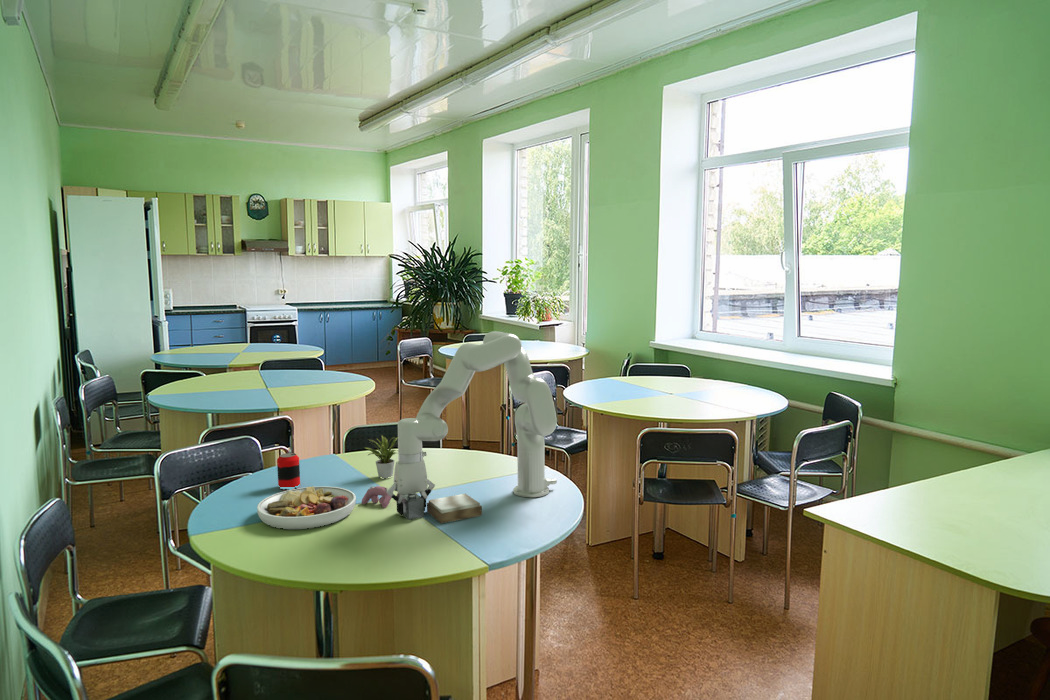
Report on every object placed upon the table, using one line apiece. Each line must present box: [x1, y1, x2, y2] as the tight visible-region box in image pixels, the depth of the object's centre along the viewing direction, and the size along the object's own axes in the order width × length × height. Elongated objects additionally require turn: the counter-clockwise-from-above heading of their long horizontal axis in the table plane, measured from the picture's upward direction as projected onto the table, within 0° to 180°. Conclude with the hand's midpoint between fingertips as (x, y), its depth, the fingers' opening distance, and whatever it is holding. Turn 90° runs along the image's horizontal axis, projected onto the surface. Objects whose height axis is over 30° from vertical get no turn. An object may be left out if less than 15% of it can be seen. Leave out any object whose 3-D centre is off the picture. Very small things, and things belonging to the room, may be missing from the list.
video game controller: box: [361, 485, 393, 509], centre depth 223 cm, size 10×5×7 cm, turn 66°
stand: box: [426, 493, 483, 524], centre depth 213 cm, size 14×12×4 cm
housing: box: [402, 493, 425, 521], centre depth 213 cm, size 5×8×7 cm, turn 29°
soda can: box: [276, 452, 301, 487], centre depth 242 cm, size 8×8×12 cm
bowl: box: [256, 485, 357, 530], centre depth 213 cm, size 30×30×8 cm
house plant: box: [364, 435, 398, 478], centre depth 254 cm, size 14×14×16 cm
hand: (411, 511), depth 213 cm, fingers open, 6 cm apart
